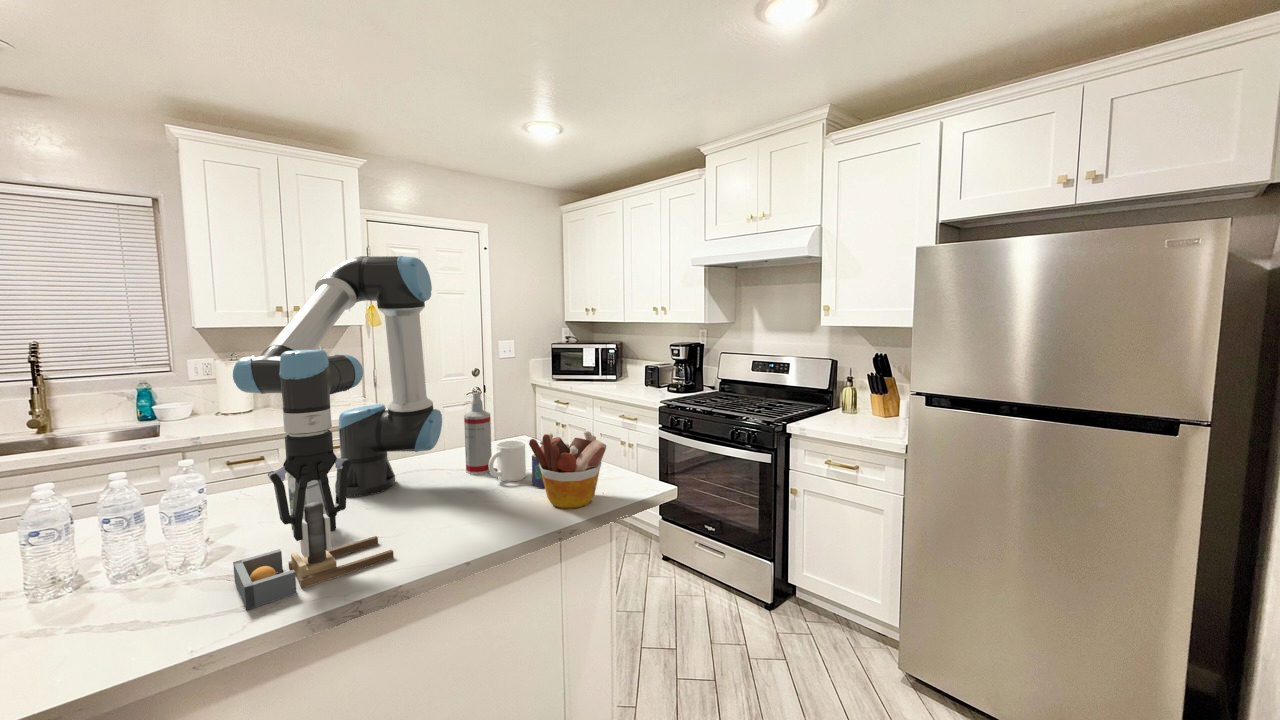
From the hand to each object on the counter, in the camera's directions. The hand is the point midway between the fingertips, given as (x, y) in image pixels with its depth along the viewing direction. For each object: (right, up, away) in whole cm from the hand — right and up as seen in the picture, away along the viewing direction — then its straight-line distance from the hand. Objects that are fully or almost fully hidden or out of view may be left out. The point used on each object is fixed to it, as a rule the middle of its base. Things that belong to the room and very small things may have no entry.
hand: (316, 551), depth 98 cm
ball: (-6, -3, -6) cm, 9 cm away
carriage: (0, -4, 0) cm, 4 cm away
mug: (+22, +1, +54) cm, 59 cm away
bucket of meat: (+44, -1, +36) cm, 57 cm away
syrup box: (-14, -2, +20) cm, 25 cm away
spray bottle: (+12, +2, +62) cm, 63 cm away
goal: (-5, -5, -5) cm, 9 cm away
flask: (+35, 0, +47) cm, 59 cm away
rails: (+3, -4, +3) cm, 6 cm away
